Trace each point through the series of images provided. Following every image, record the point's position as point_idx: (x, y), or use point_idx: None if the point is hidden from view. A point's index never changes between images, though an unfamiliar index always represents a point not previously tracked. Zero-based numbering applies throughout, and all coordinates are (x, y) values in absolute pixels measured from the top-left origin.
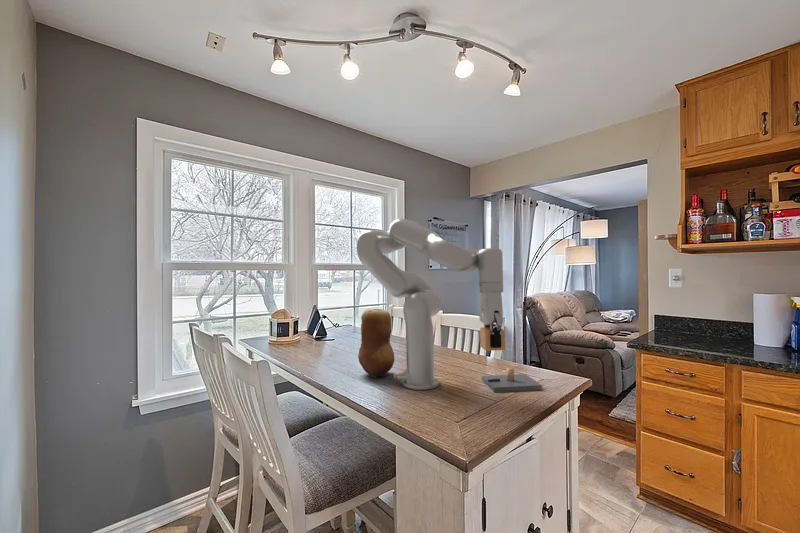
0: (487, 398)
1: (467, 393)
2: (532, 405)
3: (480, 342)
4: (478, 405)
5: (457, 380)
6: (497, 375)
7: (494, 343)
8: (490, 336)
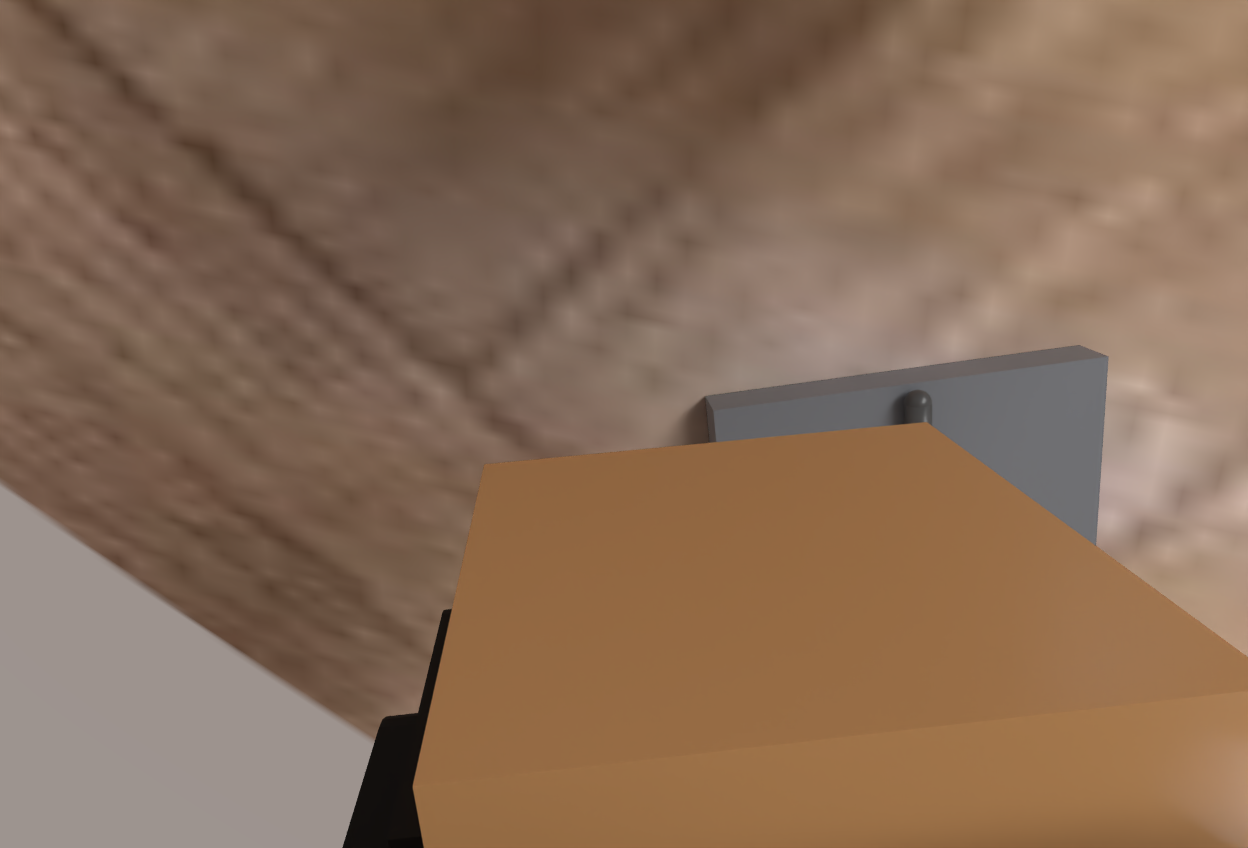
0: (536, 296)
1: (685, 104)
2: (381, 645)
3: (955, 455)
4: (338, 164)
5: (1132, 52)
6: (1091, 528)
7: (377, 739)
8: (410, 790)
